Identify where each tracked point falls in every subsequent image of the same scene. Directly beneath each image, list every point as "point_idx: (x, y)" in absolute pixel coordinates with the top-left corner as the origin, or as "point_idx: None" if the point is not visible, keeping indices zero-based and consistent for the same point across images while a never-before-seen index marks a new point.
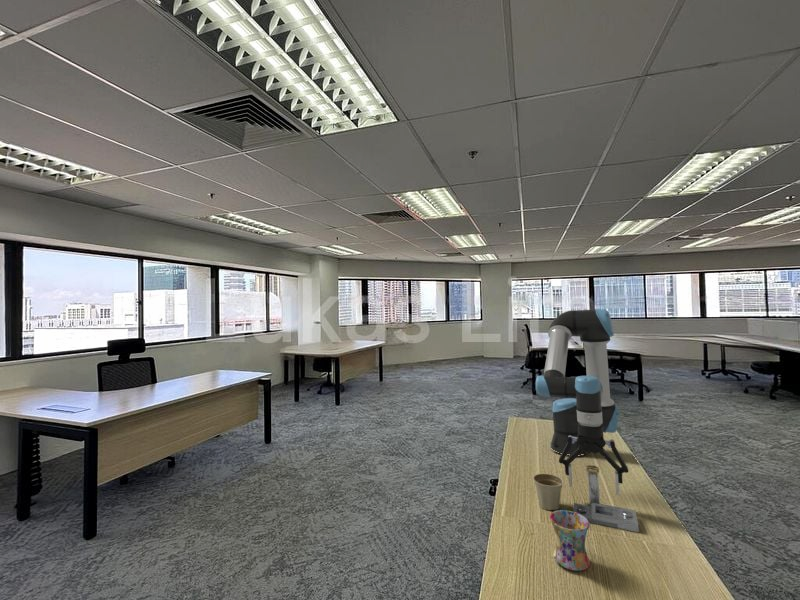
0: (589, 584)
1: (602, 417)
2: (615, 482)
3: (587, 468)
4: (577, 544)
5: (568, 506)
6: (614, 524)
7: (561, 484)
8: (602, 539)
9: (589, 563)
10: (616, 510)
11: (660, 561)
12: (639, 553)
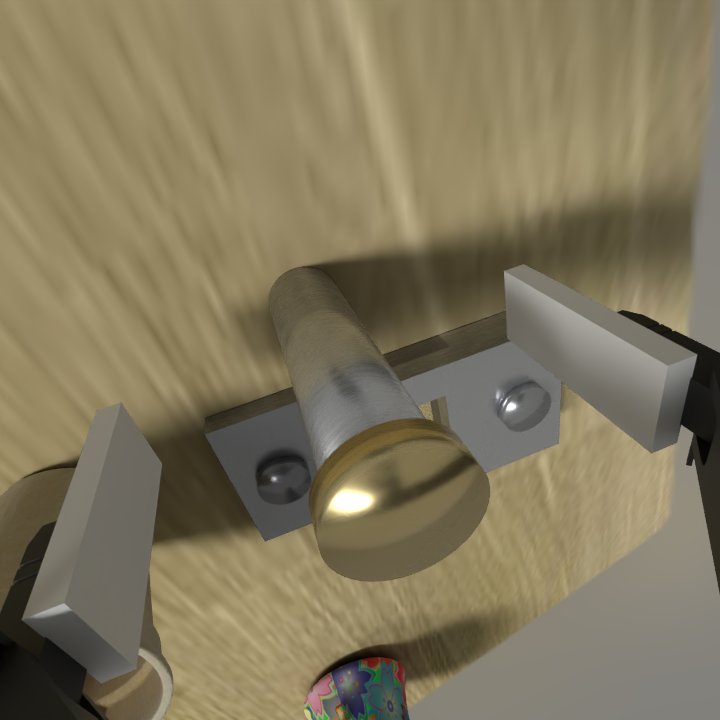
0: (410, 690)
1: None
2: (554, 300)
3: (353, 578)
4: None
5: (173, 438)
6: None
7: (170, 688)
8: None
9: (405, 676)
10: (468, 396)
11: (572, 517)
12: (521, 527)
